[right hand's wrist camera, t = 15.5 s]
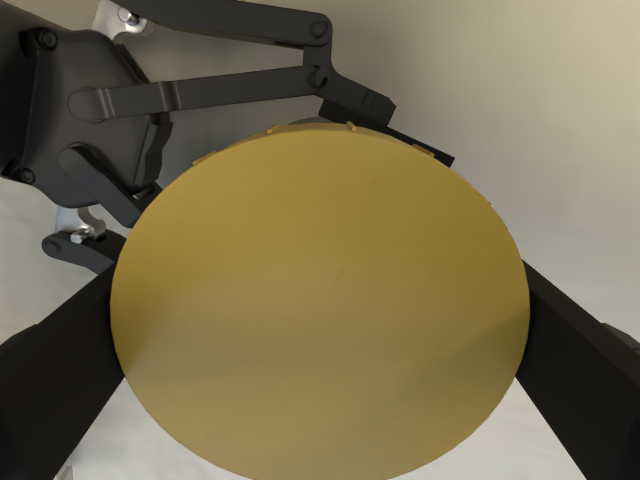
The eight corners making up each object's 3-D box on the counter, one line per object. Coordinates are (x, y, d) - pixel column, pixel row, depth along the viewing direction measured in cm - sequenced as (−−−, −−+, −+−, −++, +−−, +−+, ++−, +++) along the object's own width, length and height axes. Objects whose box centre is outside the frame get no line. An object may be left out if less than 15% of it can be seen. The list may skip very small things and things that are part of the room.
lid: (104, 358, 13) (59, 412, 11) (232, 39, 10) (205, 23, 7) (376, 466, 15) (386, 531, 13) (566, 231, 11) (626, 264, 9)
